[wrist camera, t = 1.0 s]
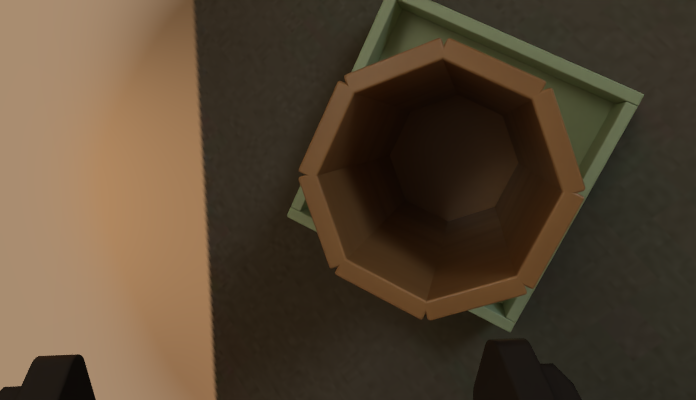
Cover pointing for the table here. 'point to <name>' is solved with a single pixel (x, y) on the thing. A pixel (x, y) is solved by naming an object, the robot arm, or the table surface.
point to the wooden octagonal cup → (441, 179)
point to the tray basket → (561, 75)
